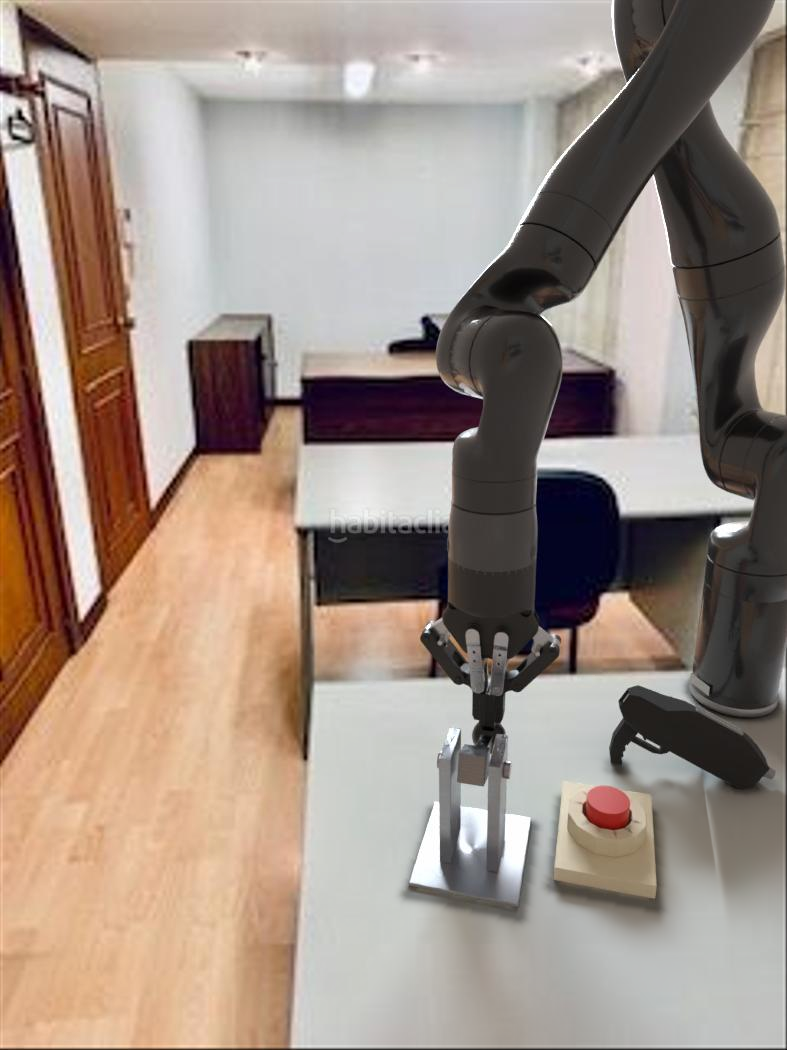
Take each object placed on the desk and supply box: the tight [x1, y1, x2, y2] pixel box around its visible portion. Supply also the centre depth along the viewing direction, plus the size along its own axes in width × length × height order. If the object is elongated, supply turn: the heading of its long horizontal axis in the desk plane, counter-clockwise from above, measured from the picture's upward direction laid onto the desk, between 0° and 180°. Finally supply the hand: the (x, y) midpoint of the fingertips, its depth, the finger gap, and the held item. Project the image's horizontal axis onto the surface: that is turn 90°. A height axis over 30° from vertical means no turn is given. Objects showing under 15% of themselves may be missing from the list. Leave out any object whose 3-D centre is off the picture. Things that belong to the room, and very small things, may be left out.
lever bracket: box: [408, 726, 532, 908], centre depth 64 cm, size 10×9×12 cm
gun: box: [608, 684, 777, 791], centre depth 75 cm, size 3×16×10 cm, turn 78°
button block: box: [553, 780, 658, 900], centre depth 66 cm, size 11×8×4 cm
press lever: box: [457, 721, 507, 787], centre depth 67 cm, size 12×3×3 cm, turn 164°
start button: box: [586, 785, 630, 830], centre depth 65 cm, size 4×4×2 cm
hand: (487, 722), depth 71 cm, fingers closed
